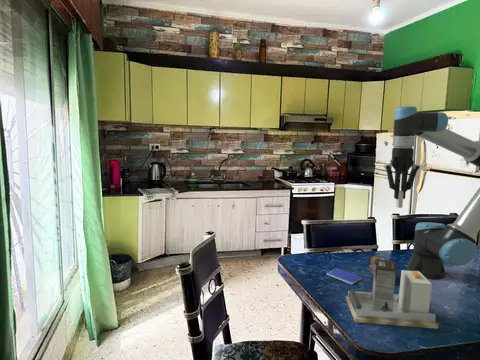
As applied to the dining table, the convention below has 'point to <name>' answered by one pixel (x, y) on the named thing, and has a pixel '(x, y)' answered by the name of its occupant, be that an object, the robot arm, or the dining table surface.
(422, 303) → the breaker module
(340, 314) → the dining table surface
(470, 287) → the dining table surface
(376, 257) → the tin
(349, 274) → the hard drive
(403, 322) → the board
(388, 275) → the coffee box
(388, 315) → the white base stand
